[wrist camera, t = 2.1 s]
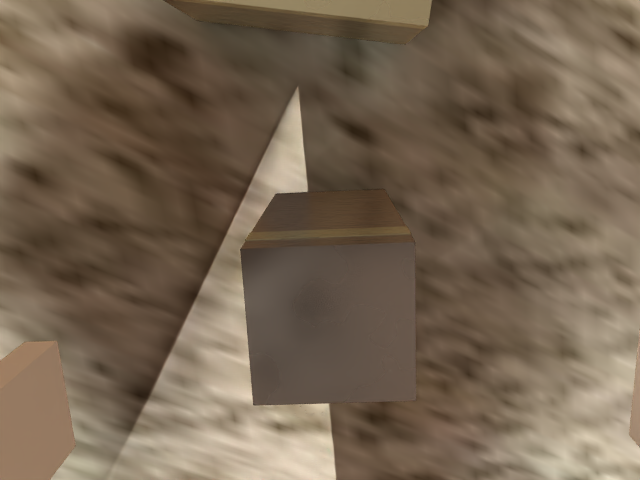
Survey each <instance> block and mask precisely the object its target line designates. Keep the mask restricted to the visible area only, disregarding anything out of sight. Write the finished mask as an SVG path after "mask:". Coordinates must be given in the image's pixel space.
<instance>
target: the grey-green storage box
mask: <svg viewBox="0 0 640 480" xmlns="http://www.w3.org/2000/svg"><path fill="white" fill-rule="evenodd" d="M164 1H165V2H167V3H169V4H170V5H172V6H174V7H175V8H177V9H179V10H180V11H182V12H184V13H185V14H187V15H189V16H190V17H192V18H194V19H195V20H197V21H203V22H212V23H220V24H229V25H238V26H247V27H255V28H264V29H273V30H282V31H290V32H299V33H308V34H316V35H325V36H334V37H343V38H351V39H360V40H369V41H378V42H386V43H395V44H404V45H405V44H407V43H408V42H409V41H410V40H412V39H413V38H414V37H415V36H416V35H418V34H419V33H420V32H421V31H423V30H424V29H425V28H426V27H427V26H428V24H429V17H430V10H431V3H432V0H164Z"/></svg>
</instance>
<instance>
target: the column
mask: <svg viewBox="0 0 640 480" xmlns="http://www.w3.org/2000/svg"><path fill="white" fill-rule="evenodd" d="M240 251H241V263H242V275H243V287H244V299H245V311H246V323H247V335H248V347H249V359H250V371H251V383H252V395H253V405H286V404H320V403H354V402H389V401H416V289H415V241H414V239H413V237H412V236H411V232H410V231H409V229H408V227H407V226H406V225H405V224H404V222H403V220H402V219H401V217H400V215H399V213H398V212H397V210H396V208H395V207H394V205H393V203H392V201H391V200H390V198H389V196H388V195H387V193H386V191H385V189H372V190H349V191H326V192H302V193H279V194H275V196H274V197H273V199H272V200H271V202H270V203H269V205H268V207H267V208H266V210H265V211H264V213H263V214H262V216H261V217H260V219H259V221H258V222H257V224H256V225H255V227H254V228H253V230H252V231H251V232H250V233H249V234H248V236H247V238H246V239H245V242H244V244H243V245H242V247H241V249H240Z"/></svg>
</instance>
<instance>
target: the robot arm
mask: <svg viewBox="0 0 640 480" xmlns="http://www.w3.org/2000/svg"><path fill="white" fill-rule="evenodd" d="M629 435H630V437H631V438H632V439H633V440H634V441H635V442H636V444H637V445H638V446H639V447H640V331H639V341H638V351H637V361H636V371H635V380H634V390H633V400H632V410H631V420H630V430H629ZM75 446H76V445H75V439H74V433H73V428H72V422H71V416H70V411H69V405H68V399H67V394H66V388H65V382H64V376H63V371H62V365H61V359H60V354H59V348H58V342H57V341H38V342H24V343H23V344H22V345H20V346H19V347H18V348H16V349H15V350H14V351H12V352H11V353H10V354H9V355H7V356H6V357H5V358H3V359H2V360H1V361H0V480H50V479H51V477H52V476H53V475H54V474H55V472H56V471H57V470H58V468H59V467H60V466H61V464H62V463H63V462H64V460H65V459H66V458H67V457H68V455H69V454H70V453H71V451H72V450H73V449H74V447H75Z"/></svg>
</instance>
